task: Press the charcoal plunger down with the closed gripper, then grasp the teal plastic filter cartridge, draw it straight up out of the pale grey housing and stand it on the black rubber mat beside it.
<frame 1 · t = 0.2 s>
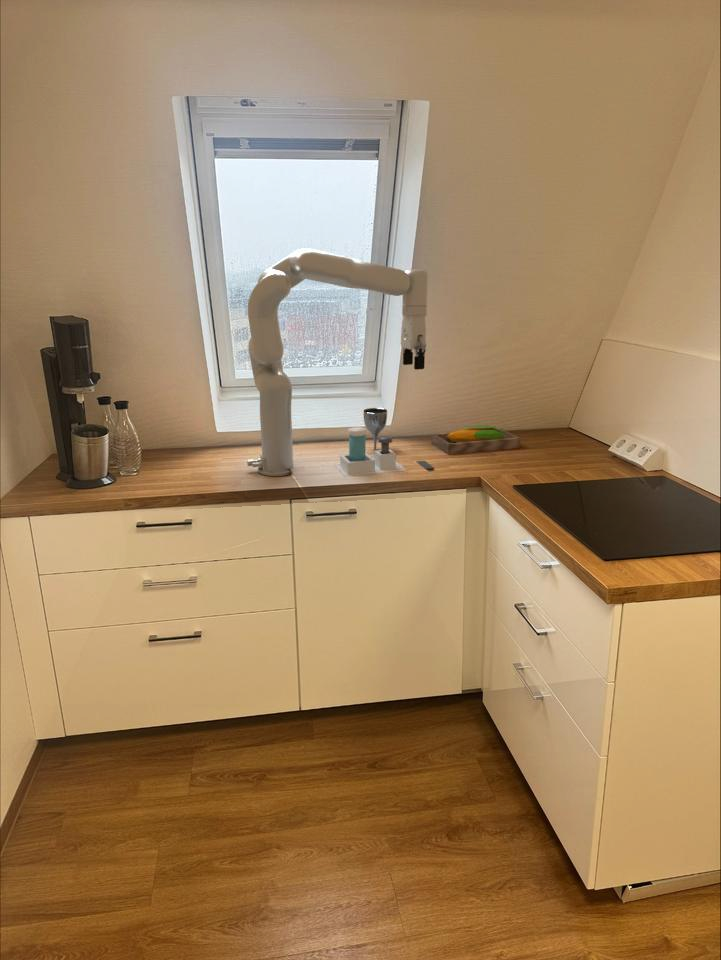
hand: (413, 366, 212), 31 cm above the worktop, tool pointing down, fingers open, 9 cm apart
mat: (417, 467, 212), on the worktop
cartridge: (357, 468, 207), point 1 cm above the worktop, touching housing
housing: (369, 472, 208), on the worktop
plunger: (385, 446, 207), point 8 cm above the worktop, slide at 0.0 cm
wine glass: (375, 454, 228), on the worktop
corn: (475, 446, 237), resting in brown rectangular tray
brown rectangular tray: (475, 445, 237), on the worktop
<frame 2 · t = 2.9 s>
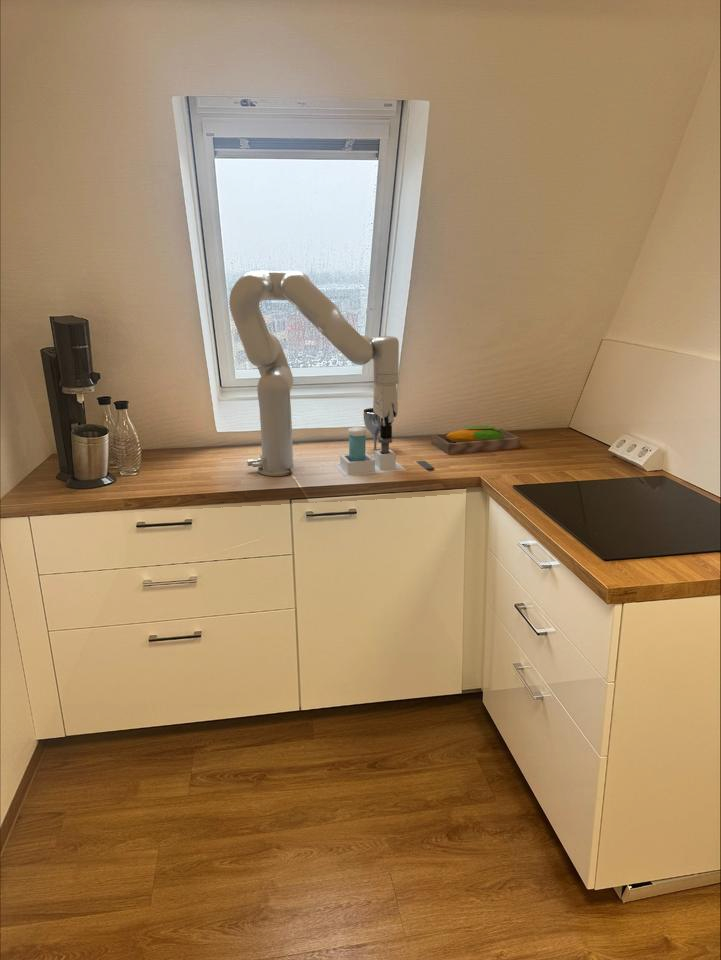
hand: (386, 437, 206), 11 cm above the worktop, tool pointing down, fingers closed
plunger: (385, 446, 207), point 8 cm above the worktop, slide at 0.1 cm, touching gripper
corn: (474, 447, 236), resting in brown rectangular tray
everything else where it was.
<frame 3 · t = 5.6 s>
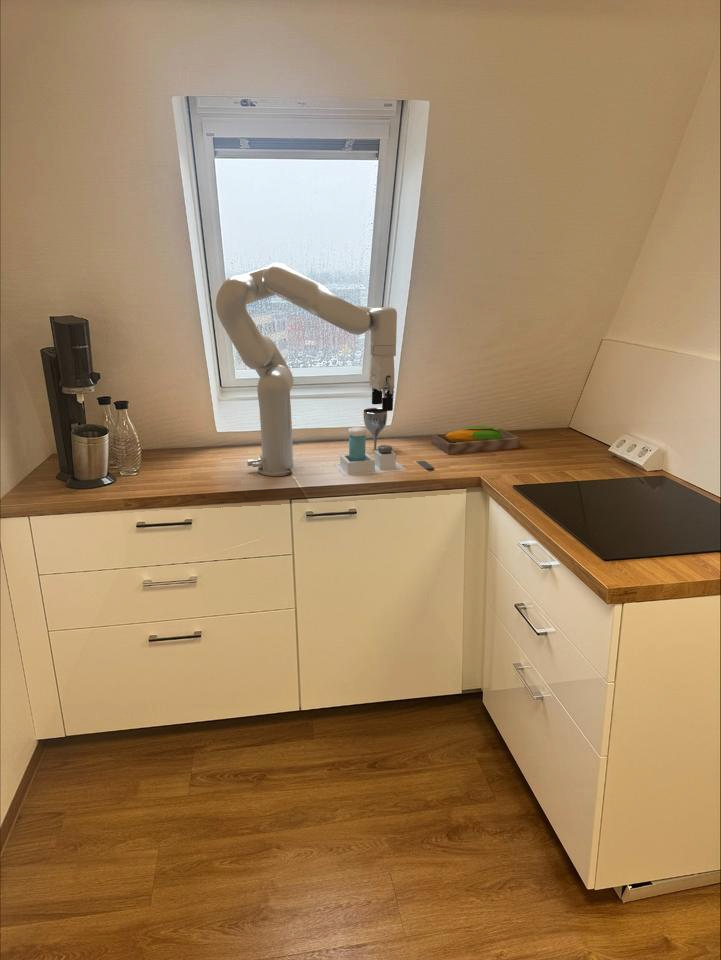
hand: (382, 407, 203), 20 cm above the worktop, tool pointing down, fingers open, 9 cm apart
plunger: (385, 455, 208), point 5 cm above the worktop, slide at 3.0 cm
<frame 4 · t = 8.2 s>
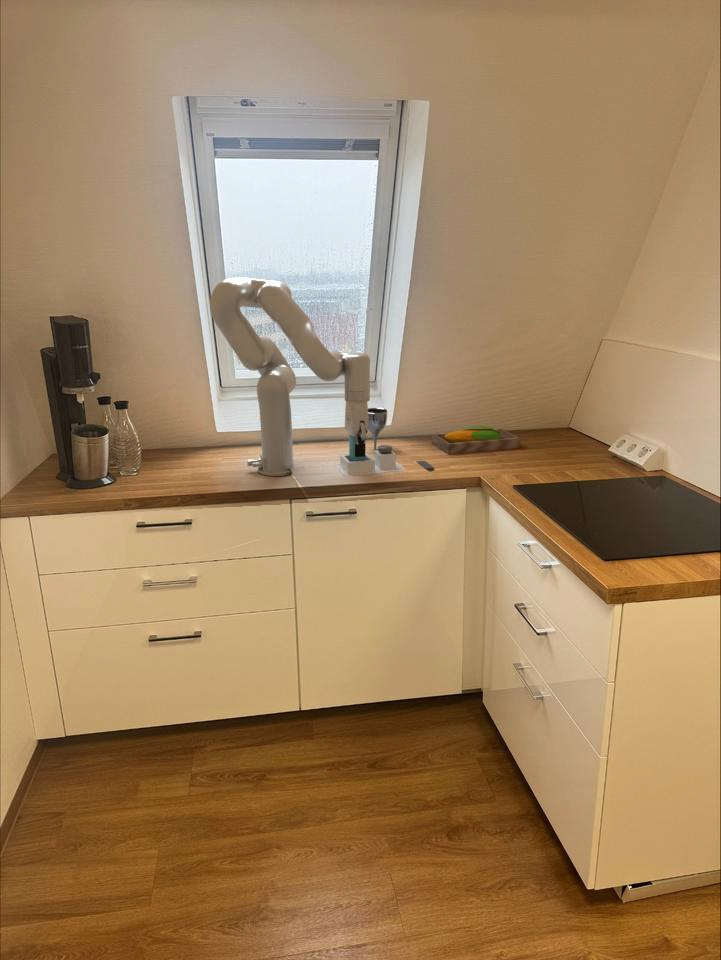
hand: (357, 453, 205), 6 cm above the worktop, tool pointing down, fingers closed on cartridge, 5 cm apart
cartridge: (357, 468, 207), point 2 cm above the worktop, touching gripper, housing
corn: (472, 447, 236), resting in brown rectangular tray
everything else where it was.
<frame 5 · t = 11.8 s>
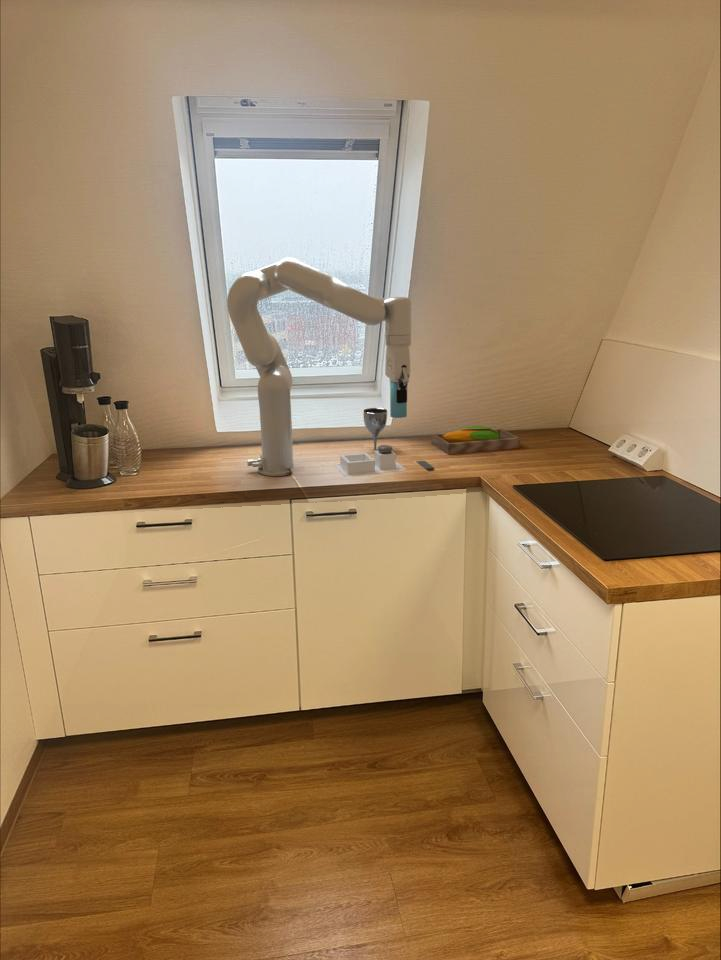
hand: (398, 400, 203), 22 cm above the worktop, tool pointing down, fingers closed on cartridge, 5 cm apart
cartridge: (398, 416, 205), point 17 cm above the worktop, touching gripper
corn: (470, 447, 236), resting in brown rectangular tray
everything else where it was.
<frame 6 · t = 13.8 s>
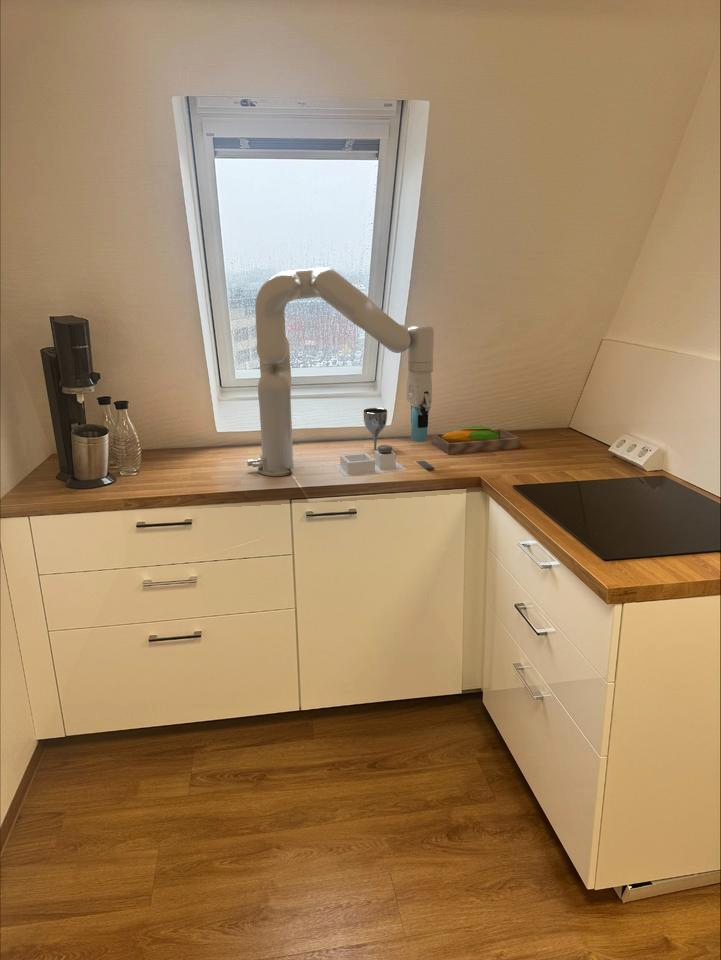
hand: (419, 424, 208), 14 cm above the worktop, tool pointing down, fingers closed on cartridge, 5 cm apart
cartridge: (419, 439, 210), point 9 cm above the worktop, touching gripper
corn: (470, 447, 236), resting in brown rectangular tray
everything else where it was.
when the fingers open (7 cm above the worktop, at t = 15.4 s): cartridge drops 2 cm, resting on mat.
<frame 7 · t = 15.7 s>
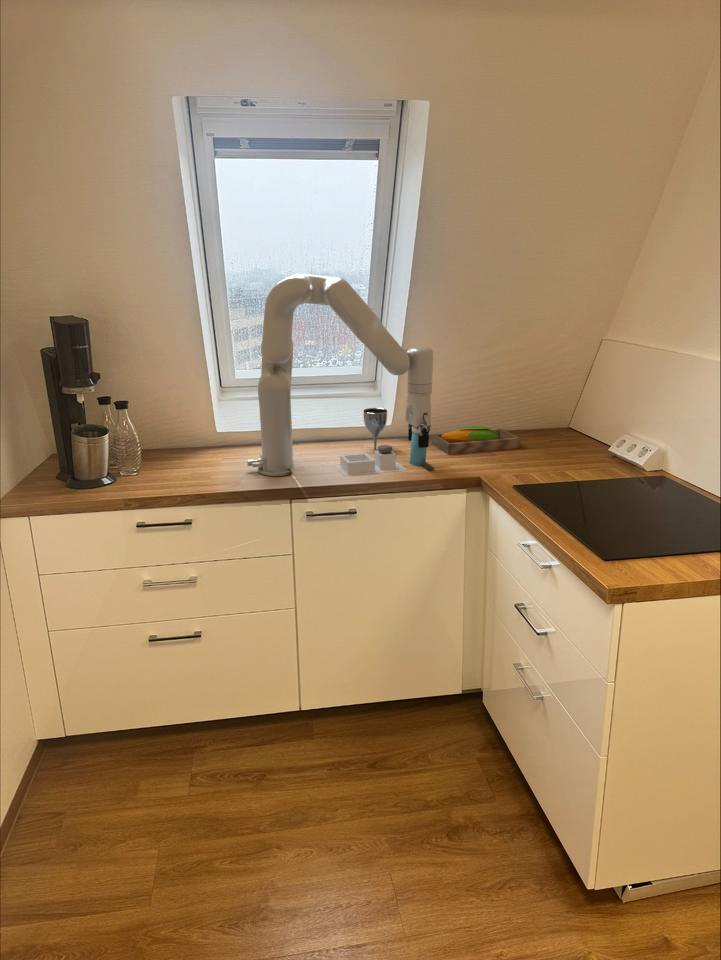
hand: (418, 443, 210), 8 cm above the worktop, tool pointing down, fingers open, 8 cm apart
cartridge: (417, 464, 212), point 1 cm above the worktop, touching mat
everything else where it was.
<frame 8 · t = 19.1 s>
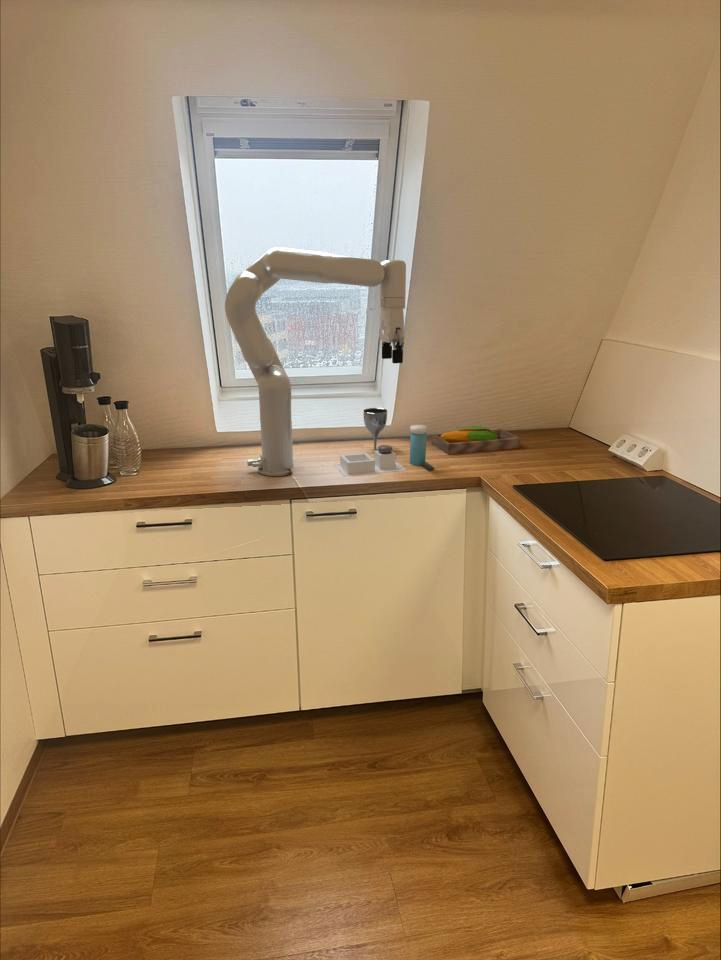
hand: (392, 360, 205), 33 cm above the worktop, tool pointing down, fingers open, 9 cm apart
at the end: plunger slide at 3.0 cm; cartridge 0.1 cm off-centre on the mat, point 0.8 cm above the mat's base; cartridge tilted 1° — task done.
